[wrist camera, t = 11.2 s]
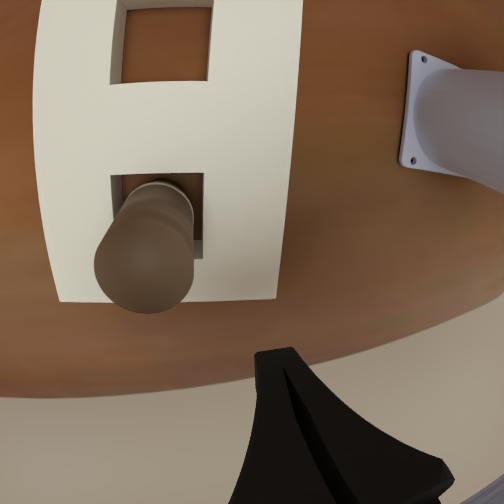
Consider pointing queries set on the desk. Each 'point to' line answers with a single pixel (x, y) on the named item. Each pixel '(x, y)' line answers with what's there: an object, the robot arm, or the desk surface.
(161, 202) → the peg
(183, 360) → the desk surface
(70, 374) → the desk surface
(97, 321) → the desk surface
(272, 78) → the board
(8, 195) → the desk surface
